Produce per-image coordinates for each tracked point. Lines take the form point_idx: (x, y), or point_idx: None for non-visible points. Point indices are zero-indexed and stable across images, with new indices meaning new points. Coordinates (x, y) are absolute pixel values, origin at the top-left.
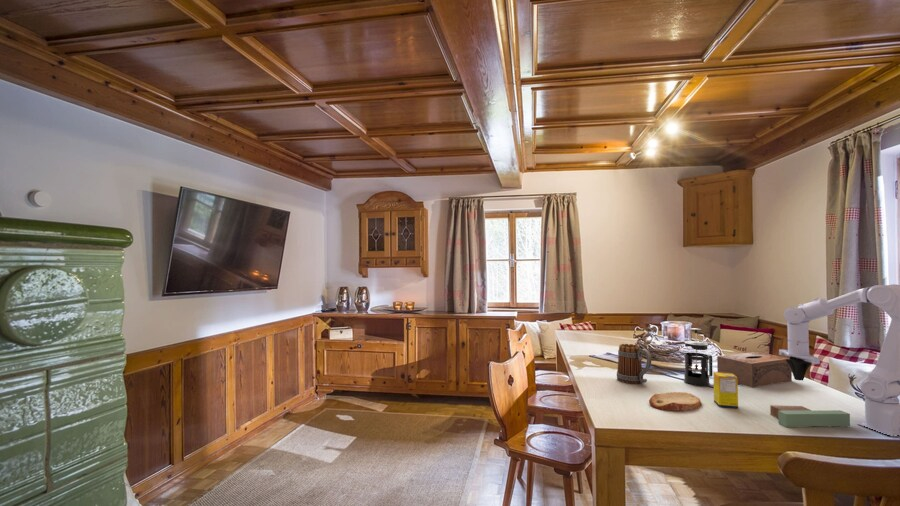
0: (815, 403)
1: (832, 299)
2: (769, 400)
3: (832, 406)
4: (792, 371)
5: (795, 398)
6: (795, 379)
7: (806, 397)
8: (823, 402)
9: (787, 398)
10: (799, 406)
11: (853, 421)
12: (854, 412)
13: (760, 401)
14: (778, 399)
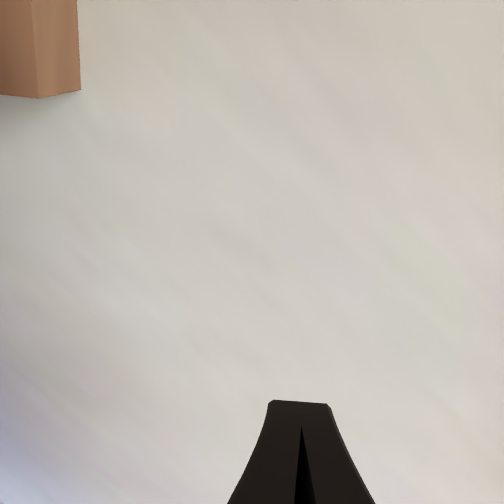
0: (355, 435)
1: None
2: (495, 146)
3: None
4: (355, 492)
5: (484, 404)
6: (309, 402)
7: (484, 487)
8: None
9: (500, 348)
10: (16, 58)
11: (4, 354)
12: (174, 494)
13: (491, 15)
14: (498, 255)
